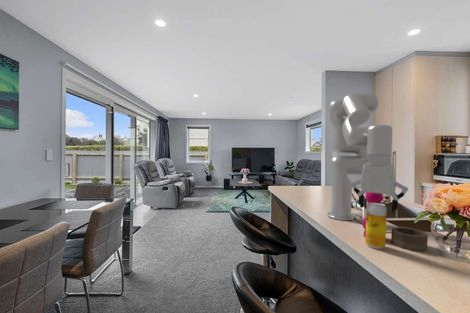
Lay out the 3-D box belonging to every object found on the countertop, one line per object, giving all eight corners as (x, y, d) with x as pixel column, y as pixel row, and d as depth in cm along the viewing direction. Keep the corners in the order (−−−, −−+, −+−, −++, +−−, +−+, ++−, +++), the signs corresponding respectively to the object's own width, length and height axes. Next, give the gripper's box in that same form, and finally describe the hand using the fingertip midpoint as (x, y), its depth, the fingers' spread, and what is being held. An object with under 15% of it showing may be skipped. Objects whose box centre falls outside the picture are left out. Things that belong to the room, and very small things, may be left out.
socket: (393, 237, 94) (394, 225, 94) (427, 245, 88) (428, 231, 88) (389, 245, 86) (390, 231, 86) (426, 253, 80) (427, 239, 80)
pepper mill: (386, 241, 90) (388, 188, 90) (365, 239, 92) (367, 187, 91) (379, 235, 97) (381, 185, 97) (359, 233, 99) (361, 184, 98)
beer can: (362, 242, 88) (363, 202, 88) (378, 243, 88) (380, 202, 88) (370, 249, 82) (372, 205, 82) (388, 250, 82) (390, 206, 82)
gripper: (349, 159, 87) (348, 206, 87) (408, 161, 76) (406, 215, 76) (354, 159, 93) (353, 204, 93) (409, 161, 82) (408, 211, 82)
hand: (377, 209), depth 84 cm, fingers open, 9 cm apart
